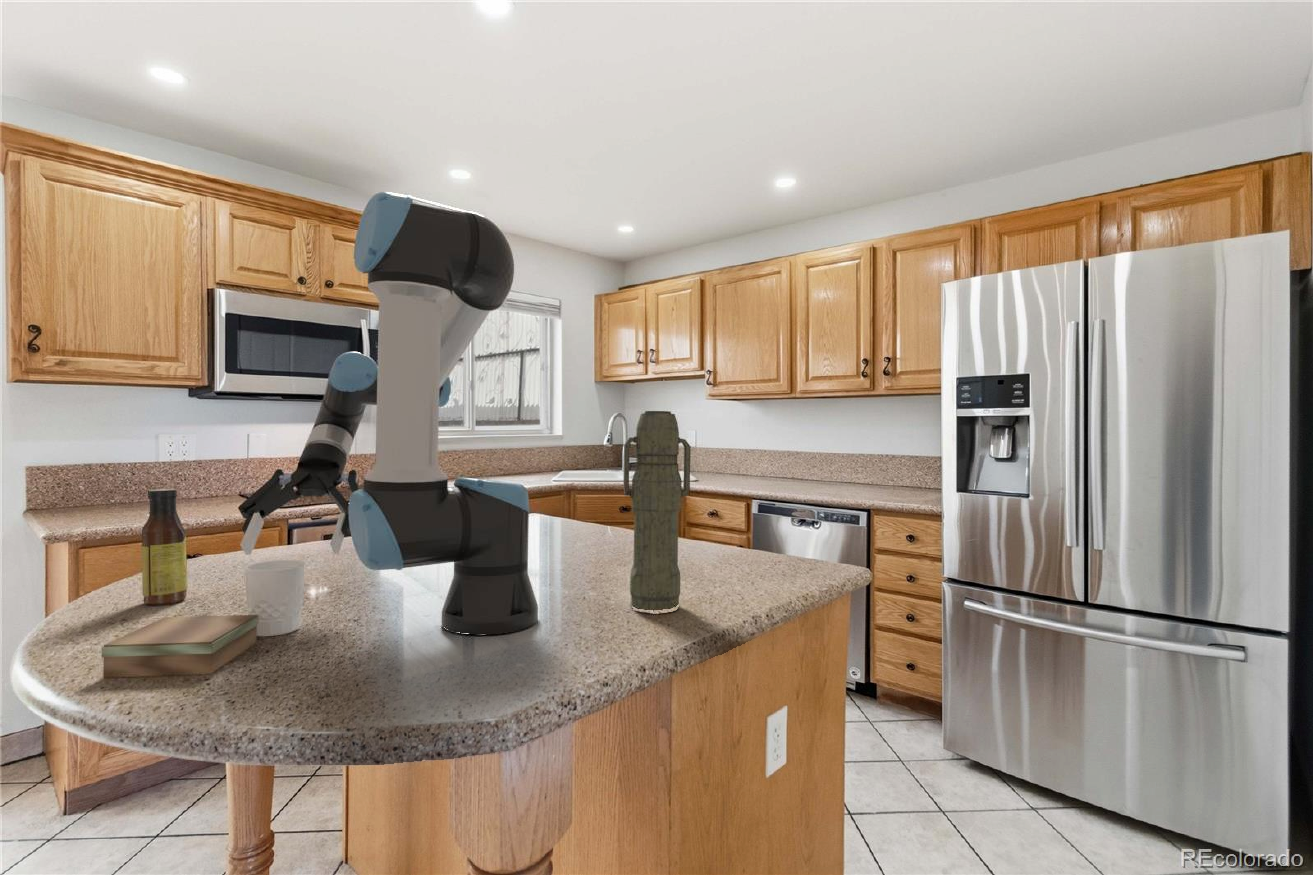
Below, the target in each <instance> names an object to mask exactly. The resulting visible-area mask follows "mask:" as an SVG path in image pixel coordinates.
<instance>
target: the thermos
mask: <svg viewBox="0 0 1313 875" xmlns="http://www.w3.org/2000/svg"><path fill="white" fill-rule="evenodd" d="M678 425H679V424H678V420H677V417H676V414H675V413H672V411H667V410H665V411H664V410H646V411H644V413H640V416H639V419H638V422H637V424H636V432H635V436H633V437H629V438H628V439H627V440H626V441H625V443H624V444H623V494H624V495H625V496H629V497H630V498H631V509H632V512H633V517H634V518H633V565H632V567H631V572H630V578H629V582H630V583H629V586H630V587H629V594H630V596H631V597H630V598H631V600H630V601H631V602H630V605H631V604H632V606H633V607H635V608H637V609H644V610H653V611H654V610H663V609H671V608H673V607H676V606H677V605H678V604H679V605H680V602H679V600H680V595H681V571H680V569H679V566H678V562H679V561H678V560H679V559H678V556H679V555H678V554H679V553H678V552H679V514H680V512H681V509H682V499H683V498H685V497H686V496H687V495H688V494H689V493H690V492H691V452H692V450H691V448H692V446H691V445H690V444H689V442H688V441H687V440H686V439H685V438H681V437H679V436H680V431H679V426H678ZM631 443H635V455H636V462H635V470H634V474H633V477H632V478H631V479H632V480H631V488H630V446H631ZM679 444H682V446H683V481H682V477H681V474H680V470H679V463H678V456H679V455H680V454H679V451H680V449H679V446H680V445H679ZM682 482H683V485H682ZM682 486H683V487H682ZM682 488H683V489H682Z"/></svg>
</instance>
